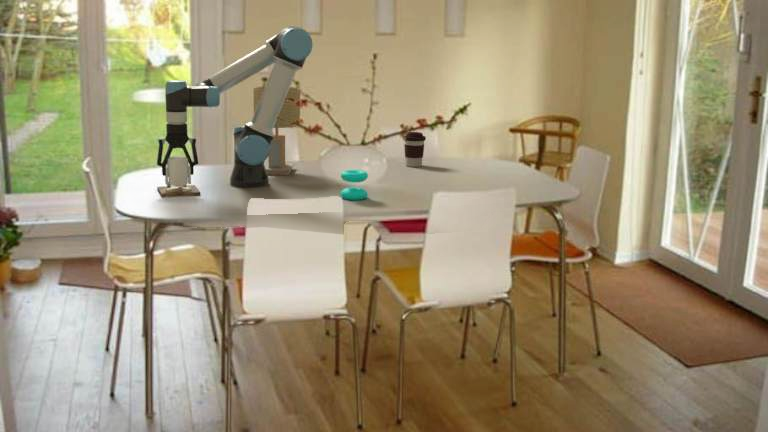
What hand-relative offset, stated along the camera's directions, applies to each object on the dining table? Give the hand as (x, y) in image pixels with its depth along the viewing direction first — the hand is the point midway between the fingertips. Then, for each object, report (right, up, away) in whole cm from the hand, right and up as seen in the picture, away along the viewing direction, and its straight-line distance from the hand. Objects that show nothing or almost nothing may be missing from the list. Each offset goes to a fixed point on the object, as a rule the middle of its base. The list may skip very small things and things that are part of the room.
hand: (178, 183), depth 338 cm
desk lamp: (+31, +7, +48) cm, 57 cm away
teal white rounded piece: (+66, -6, -1) cm, 66 cm away
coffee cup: (+90, +10, +69) cm, 114 cm away
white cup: (0, 0, 0) cm, 0 cm away
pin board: (0, -3, +1) cm, 3 cm away
